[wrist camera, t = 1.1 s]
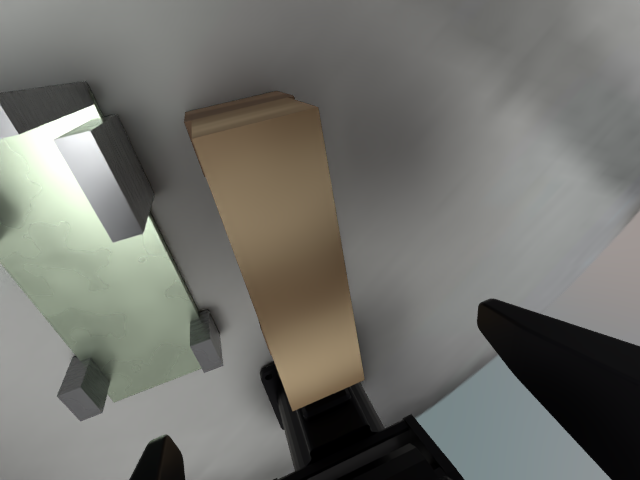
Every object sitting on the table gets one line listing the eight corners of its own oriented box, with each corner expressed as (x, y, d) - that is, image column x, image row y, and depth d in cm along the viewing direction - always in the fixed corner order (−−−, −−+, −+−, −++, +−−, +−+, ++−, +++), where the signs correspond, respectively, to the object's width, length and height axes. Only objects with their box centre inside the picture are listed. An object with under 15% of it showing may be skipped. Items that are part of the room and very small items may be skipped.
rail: (336, 329, 18) (364, 379, 15) (275, 353, 18) (292, 411, 15) (287, 97, 12) (318, 107, 9) (191, 120, 12) (191, 138, 9)
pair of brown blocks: (322, 296, 21) (340, 328, 18) (260, 319, 20) (271, 355, 18) (276, 91, 15) (293, 96, 12) (185, 112, 14) (184, 122, 11)
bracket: (227, 352, 20) (243, 467, 14) (106, 398, 19) (68, 547, 13) (100, 77, 13) (21, 88, 7) (-122, 123, 11) (-465, 185, 5)
